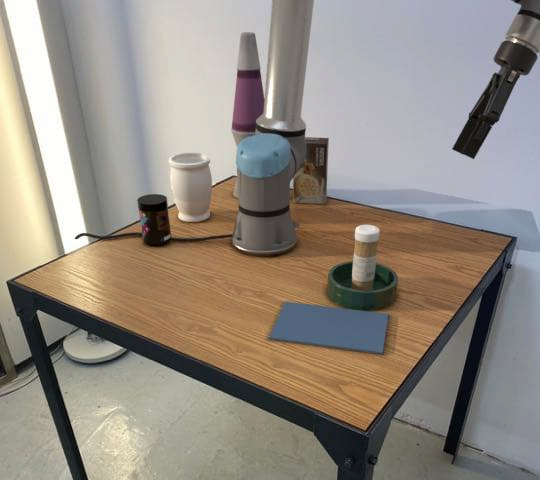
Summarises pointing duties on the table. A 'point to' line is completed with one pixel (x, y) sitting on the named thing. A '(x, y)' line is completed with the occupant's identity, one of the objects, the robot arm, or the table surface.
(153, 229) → the supplement container
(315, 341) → the mat
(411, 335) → the table surface
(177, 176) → the jar
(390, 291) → the bowl
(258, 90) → the lamp
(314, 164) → the coffee box
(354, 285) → the sprinkles bottle
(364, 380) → the table surface
